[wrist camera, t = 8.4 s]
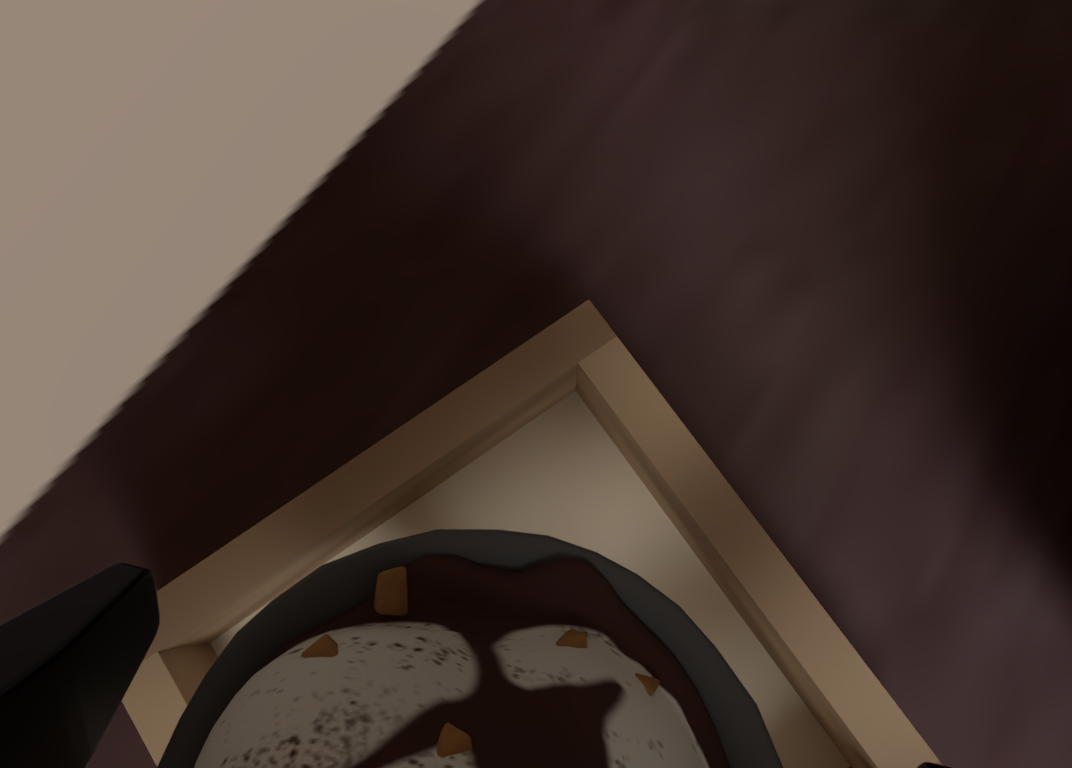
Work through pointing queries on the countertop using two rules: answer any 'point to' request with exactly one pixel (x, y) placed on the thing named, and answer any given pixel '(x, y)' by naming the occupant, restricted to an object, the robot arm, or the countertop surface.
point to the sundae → (471, 668)
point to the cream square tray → (564, 513)
